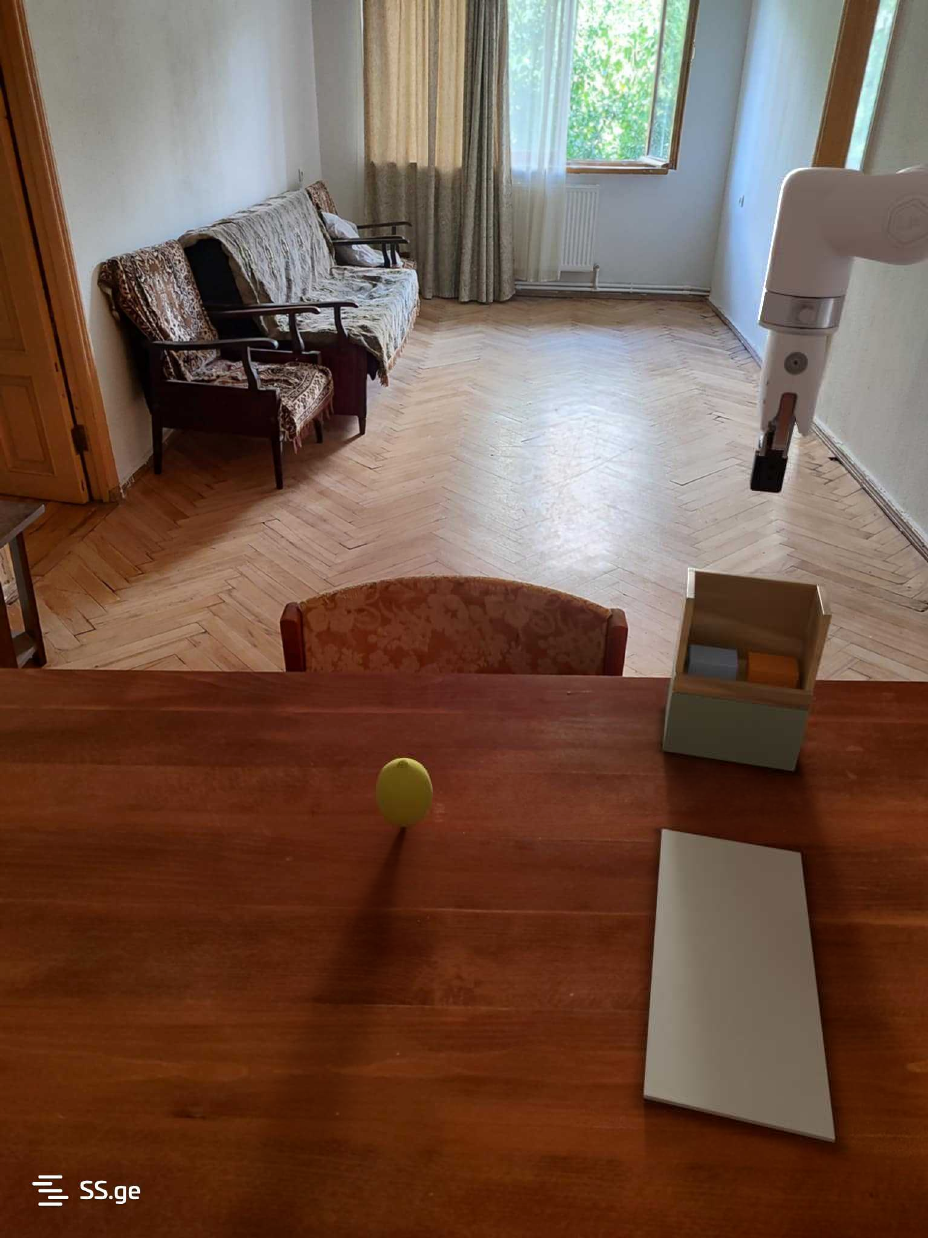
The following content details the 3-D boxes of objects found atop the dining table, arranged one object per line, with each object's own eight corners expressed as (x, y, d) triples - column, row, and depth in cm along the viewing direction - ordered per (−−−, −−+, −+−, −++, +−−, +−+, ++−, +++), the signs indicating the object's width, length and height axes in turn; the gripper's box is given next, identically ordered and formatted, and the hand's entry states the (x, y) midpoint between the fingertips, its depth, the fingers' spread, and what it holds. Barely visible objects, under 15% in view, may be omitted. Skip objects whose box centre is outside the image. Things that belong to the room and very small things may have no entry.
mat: (661, 831, 87) (662, 828, 87) (799, 855, 84) (800, 852, 84) (643, 1098, 63) (644, 1095, 63) (834, 1143, 61) (835, 1139, 61)
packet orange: (745, 666, 97) (748, 651, 96) (792, 673, 96) (796, 657, 95) (746, 684, 94) (749, 668, 93) (795, 690, 93) (799, 675, 92)
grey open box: (665, 710, 105) (674, 653, 101) (788, 728, 102) (802, 671, 98) (662, 751, 98) (671, 692, 94) (794, 771, 95) (809, 712, 91)
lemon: (426, 847, 85) (426, 783, 81) (370, 840, 86) (367, 776, 82) (437, 808, 90) (437, 746, 86) (384, 802, 90) (381, 740, 86)
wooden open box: (674, 653, 101) (688, 566, 95) (802, 670, 98) (824, 582, 93) (672, 691, 94) (686, 601, 89) (809, 711, 91) (833, 619, 86)
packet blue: (687, 659, 98) (690, 643, 97) (734, 665, 97) (737, 650, 96) (687, 676, 95) (689, 660, 94) (734, 682, 94) (737, 666, 93)
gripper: (851, 329, 78) (807, 520, 87) (832, 299, 91) (795, 469, 100) (763, 323, 80) (729, 511, 89) (756, 295, 92) (727, 462, 102)
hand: (764, 488), depth 94 cm, fingers closed
